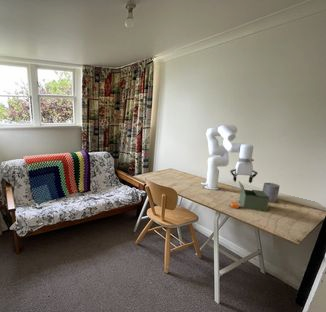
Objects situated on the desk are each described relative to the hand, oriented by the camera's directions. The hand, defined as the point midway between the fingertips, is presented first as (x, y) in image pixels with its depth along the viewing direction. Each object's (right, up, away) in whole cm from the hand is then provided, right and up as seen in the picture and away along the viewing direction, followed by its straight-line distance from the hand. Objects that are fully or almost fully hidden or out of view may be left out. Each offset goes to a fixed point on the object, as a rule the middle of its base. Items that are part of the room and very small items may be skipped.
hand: (242, 181), depth 147 cm
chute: (+10, -19, +2) cm, 22 cm away
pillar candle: (+33, -17, +12) cm, 39 cm away
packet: (-5, -20, +2) cm, 21 cm away
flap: (+2, -5, +3) cm, 6 cm away
